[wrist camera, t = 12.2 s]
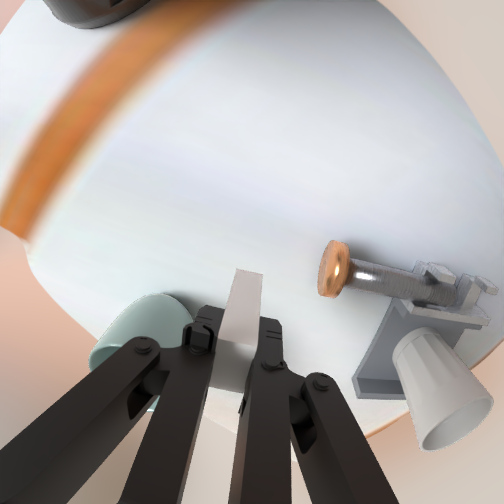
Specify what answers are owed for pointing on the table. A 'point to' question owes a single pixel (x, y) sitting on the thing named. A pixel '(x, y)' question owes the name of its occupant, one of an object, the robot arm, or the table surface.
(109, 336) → the cup
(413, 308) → the lug rail
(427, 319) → the dock
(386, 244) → the table surface
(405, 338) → the cup
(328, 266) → the lock pin
